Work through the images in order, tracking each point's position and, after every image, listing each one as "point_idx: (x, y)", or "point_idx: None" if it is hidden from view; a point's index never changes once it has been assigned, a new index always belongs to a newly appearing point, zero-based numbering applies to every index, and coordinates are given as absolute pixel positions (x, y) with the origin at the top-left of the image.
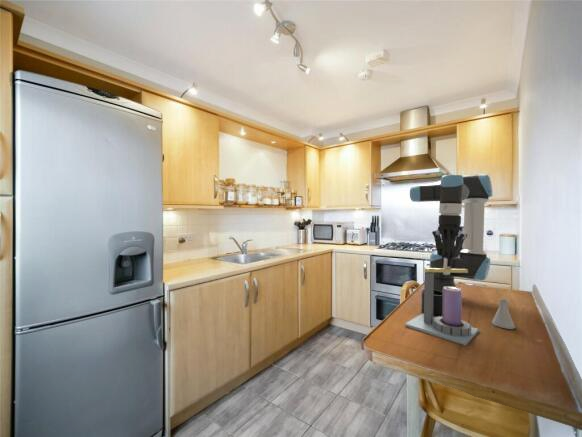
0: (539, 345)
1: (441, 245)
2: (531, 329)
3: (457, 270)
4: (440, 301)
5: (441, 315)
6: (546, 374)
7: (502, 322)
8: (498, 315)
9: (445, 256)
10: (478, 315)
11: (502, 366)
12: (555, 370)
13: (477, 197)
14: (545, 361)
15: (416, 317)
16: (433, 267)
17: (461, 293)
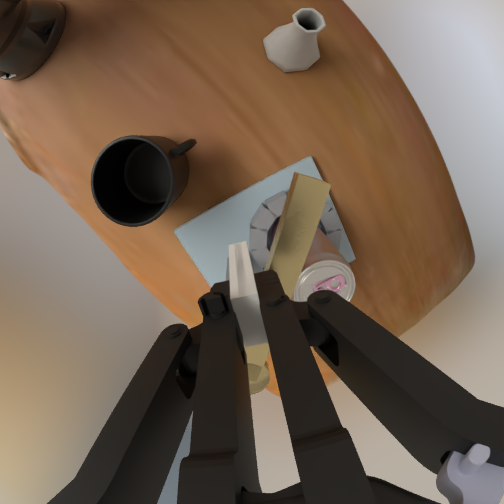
0: (395, 94)
1: (162, 406)
2: (326, 10)
3: (306, 251)
4: (179, 182)
5: (188, 171)
6: (449, 212)
7: (307, 61)
8: (297, 54)
9: (241, 340)
10: (206, 44)
11: (416, 257)
12: (449, 184)
13: None
14: (433, 165)
15: (200, 268)
16: None
17: (349, 266)
